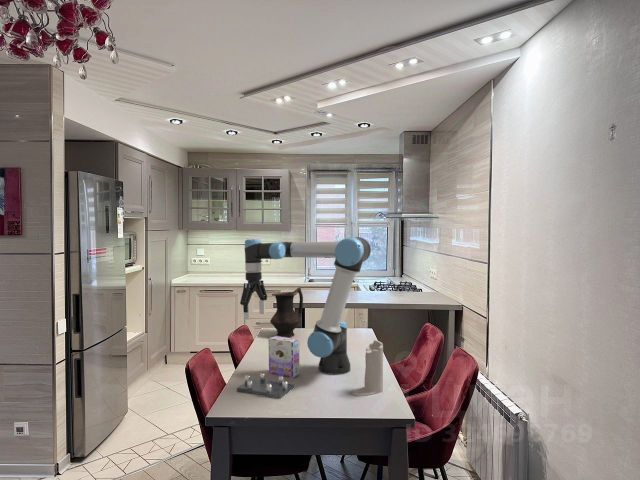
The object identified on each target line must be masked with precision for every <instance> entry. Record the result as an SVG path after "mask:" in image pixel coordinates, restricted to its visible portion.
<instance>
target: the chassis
mask: <svg viewBox="0 0 640 480" xmlns="http://www.w3.org/2000/svg"><path fill="white" fill-rule="evenodd" d="M265 375H266V374H265V372H261V373H259V378H254V377H252V378H250V375H249V374H246V375H244V383H242V384H240V385H239V386H238V387H236V392H240V393H244V394H251V395H255V396H256V395H257V396H261V395H262V397H267V396H268V398H273V397H274V399H279V398H281V399H282V398H283V397H284V396H286V395H287V394H288V393H290V392H291V391H292V390H293V388H295V384H292V383H288V381H287V380H284V376H280V375H278V381H275V380H274V381H273V380H268V379H266V376H265ZM290 390H291V391H290ZM289 391H290V392H289ZM285 394H286V395H285Z"/></svg>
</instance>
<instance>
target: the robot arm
mask: <svg viewBox="0 0 640 480" xmlns="http://www.w3.org/2000/svg"><path fill="white" fill-rule="evenodd" d="M371 252H372V247H371V245H370V243H369V242H368V240H367V239H365V238H363V237H359V236H356V237H352V236H350V237H345V238H343V239H341V240H340V241H282V242H281V241H280V242H279V241H278V242H265V243H264V242H261V239H259V238H252V239H251V238H249V239H248V238H247V239H245V240H244V260H245V261H244V262H245V264H244V265H245V267H244V269H245V281H247V283H245V282H244V283H243V287H242V288H243V289H242V292H241V297H240V302H239V304H240V305H241V306H242V309H243V320H250V318H251V316H250V315H251V313H250V312H251V311H250V310H251V309H250V304H249V303H250V301H251V299H252V296H253V294H254V292H255V293H256V294H257V296H258V299H259V301H258V303H259V305H258V307H259V308H258V309H259V313H258V314H259V315H265V314H266V301H267V300H268V294H267V291H266V288H265V284H264V280H262V279H263V277H262V275H263V274H262V260H280V259H284V258H309V259H310V258H319V259H320V258H323V259H324V258H325V259H327V258H330V259H335V260H334V263H333V265H334V266H335V267H334V268H335V271H334V274H333V278H332V282H331V284H330V288H329V291H328V294H327V297H326V301H325V304H324V307H323V310H322V314H321V317H320V319H319V320H317V321H316V322H315V325H314V328H313V332H311V333H310V334H309V336H308V338H307V342H306V343H307V348H308V350H309V352H310V353H311V354H312V355H313V356H315V357H318V358H320V359H319V361H318V371H319V372H321V373H323V374H327V375H341V374H342V375H343V374H346V373H349V372H350V371H351V362H350V358H349V356H348V348H347V347H348V344H347V342H348V328H347V322H345V321H344V320H342V317H343V315H344V311H345V308H346V305H347V302H348V299H349V295H350V292H351V290H352V286H353V282H354V279H355V276H356V275H358V273H360V272H361V269H362V266H363V262H366V261H367V260H368V259H369V257H370V255H371Z"/></svg>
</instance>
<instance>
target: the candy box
mask: <svg viewBox="0 0 640 480" xmlns="http://www.w3.org/2000/svg"><path fill="white" fill-rule="evenodd" d="M268 374H271V375H276V376H277V375H278V376H283V377H286V378H290V379H291V378H292V379H294V378H295V377H297V376H300V339H298V338H291V337H280V336H277V335H275V336H271V337H269V338H268Z"/></svg>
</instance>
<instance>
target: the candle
mask: <svg viewBox="0 0 640 480" xmlns="http://www.w3.org/2000/svg"><path fill="white" fill-rule="evenodd" d="M364 357H365V368H364V369H365V372H364V386H363V387H360V388H357V389H355V390H354V391H352V392H351V394H353V395H354V396H357V397H359V396H369V395H370V396H371V395H374V394H378V393H379V394H380V393H382V392H383V391H384V344H383V342H381V341H379V340H378V339H373V343H370V344H369V345H368V346H367V347H366V348H365V356H364Z"/></svg>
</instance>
